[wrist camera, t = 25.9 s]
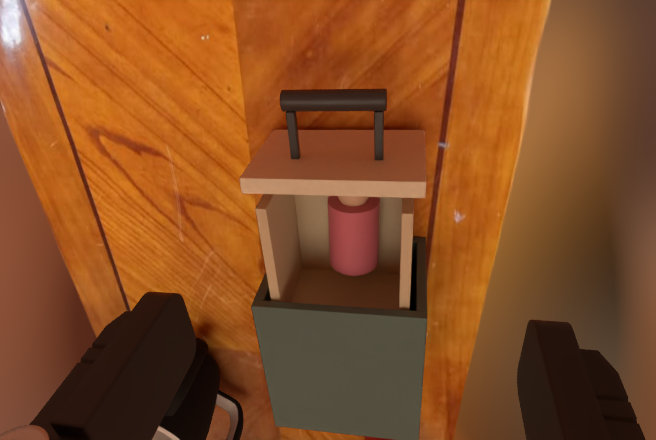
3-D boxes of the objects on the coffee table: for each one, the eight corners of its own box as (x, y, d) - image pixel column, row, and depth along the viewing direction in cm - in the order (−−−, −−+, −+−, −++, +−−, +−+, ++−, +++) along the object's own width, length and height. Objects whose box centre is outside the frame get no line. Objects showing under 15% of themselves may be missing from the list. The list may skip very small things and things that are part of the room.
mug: (106, 314, 56) (39, 398, 46) (228, 315, 53) (185, 407, 43) (151, 400, 65) (103, 487, 55) (260, 406, 61) (229, 500, 51)
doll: (384, 253, 41) (388, 170, 37) (367, 281, 38) (368, 194, 34) (342, 242, 43) (340, 161, 38) (321, 268, 40) (317, 184, 35)
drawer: (264, 69, 36) (225, 107, 29) (428, 65, 34) (430, 106, 26) (291, 266, 46) (267, 331, 39) (417, 273, 44) (417, 343, 37)
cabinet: (283, 231, 45) (250, 306, 36) (425, 237, 43) (427, 318, 34) (298, 343, 54) (275, 426, 45) (418, 353, 51) (418, 442, 42)
